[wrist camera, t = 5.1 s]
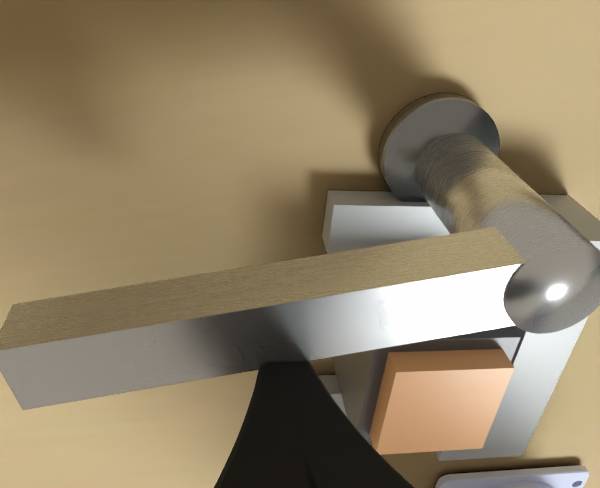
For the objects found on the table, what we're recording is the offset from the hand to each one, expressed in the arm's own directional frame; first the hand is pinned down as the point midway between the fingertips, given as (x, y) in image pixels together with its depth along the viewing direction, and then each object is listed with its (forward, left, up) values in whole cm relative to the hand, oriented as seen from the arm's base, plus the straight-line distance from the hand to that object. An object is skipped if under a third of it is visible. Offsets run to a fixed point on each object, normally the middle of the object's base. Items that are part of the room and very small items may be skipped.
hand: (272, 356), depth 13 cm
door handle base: (+3, -5, -6) cm, 8 cm away
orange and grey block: (-3, -5, -6) cm, 9 cm away
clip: (+2, -1, -4) cm, 5 cm away
